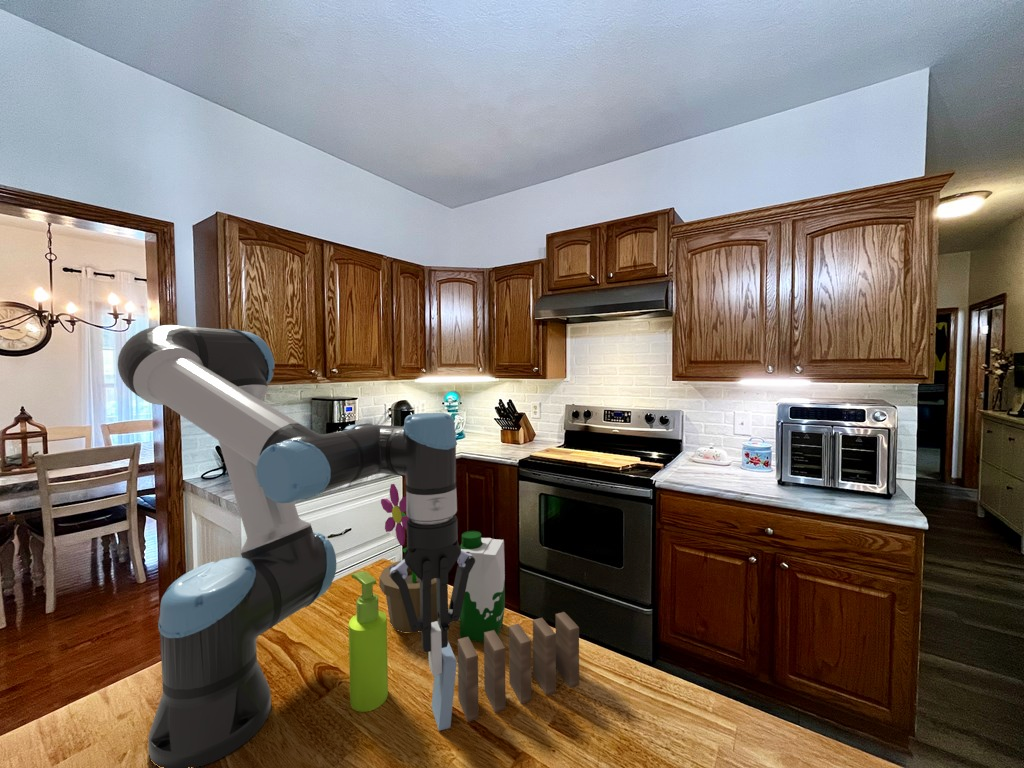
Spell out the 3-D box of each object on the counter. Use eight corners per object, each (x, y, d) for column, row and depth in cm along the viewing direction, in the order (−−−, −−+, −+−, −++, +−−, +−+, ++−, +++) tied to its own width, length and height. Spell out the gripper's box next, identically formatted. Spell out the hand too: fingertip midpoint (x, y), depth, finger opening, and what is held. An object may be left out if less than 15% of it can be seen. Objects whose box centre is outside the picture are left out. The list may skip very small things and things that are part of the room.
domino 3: (494, 712, 67) (494, 650, 67) (484, 690, 72) (484, 632, 71) (505, 709, 68) (505, 647, 67) (494, 687, 72) (494, 629, 72)
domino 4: (521, 704, 69) (520, 643, 68) (509, 683, 73) (508, 626, 73) (531, 700, 70) (531, 640, 69) (518, 680, 74) (518, 623, 74)
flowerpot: (367, 620, 92) (364, 482, 91) (422, 593, 103) (420, 469, 101) (405, 649, 82) (402, 495, 81) (461, 617, 93) (460, 480, 92)
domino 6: (569, 687, 72) (569, 629, 72) (555, 668, 77) (555, 614, 77) (579, 684, 73) (579, 627, 73) (564, 665, 78) (564, 611, 77)
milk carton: (467, 616, 93) (466, 525, 92) (508, 621, 91) (507, 528, 90) (454, 642, 84) (453, 542, 84) (499, 647, 83) (498, 545, 82)
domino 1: (438, 730, 64) (445, 663, 64) (431, 706, 68) (437, 643, 68) (450, 728, 64) (456, 661, 64) (442, 703, 69) (448, 642, 69)
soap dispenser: (374, 676, 75) (372, 564, 74) (394, 697, 70) (392, 578, 70) (341, 694, 71) (338, 575, 70) (360, 718, 66) (357, 591, 65)
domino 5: (546, 695, 71) (545, 636, 70) (533, 675, 75) (532, 619, 75) (555, 692, 71) (555, 633, 71) (542, 672, 76) (542, 617, 75)
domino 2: (467, 722, 65) (466, 658, 65) (458, 698, 70) (457, 639, 70) (478, 718, 66) (477, 655, 66) (468, 695, 71) (468, 636, 70)
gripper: (390, 531, 59) (394, 698, 60) (481, 517, 64) (483, 672, 64) (384, 514, 66) (388, 664, 66) (466, 503, 71) (469, 643, 71)
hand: (435, 668), depth 65 cm, fingers closed
